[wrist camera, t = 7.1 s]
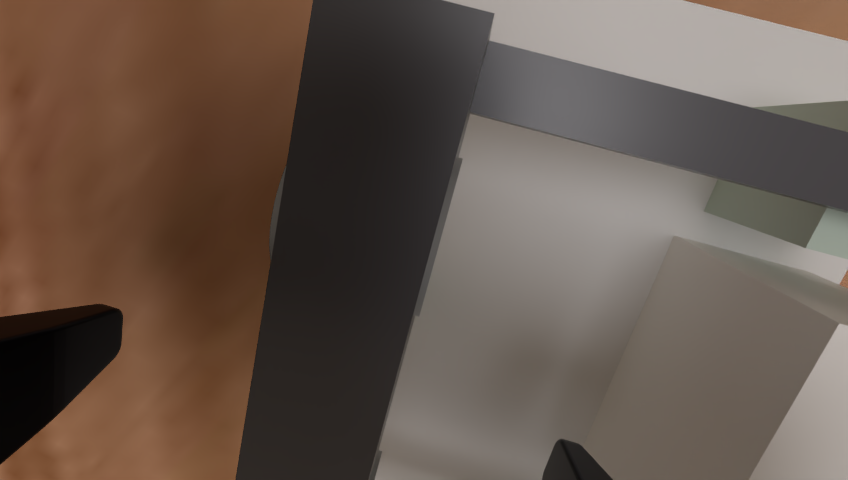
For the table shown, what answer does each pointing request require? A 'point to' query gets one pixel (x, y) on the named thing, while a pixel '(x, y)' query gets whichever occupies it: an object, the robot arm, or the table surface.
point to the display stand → (633, 277)
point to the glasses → (441, 200)
